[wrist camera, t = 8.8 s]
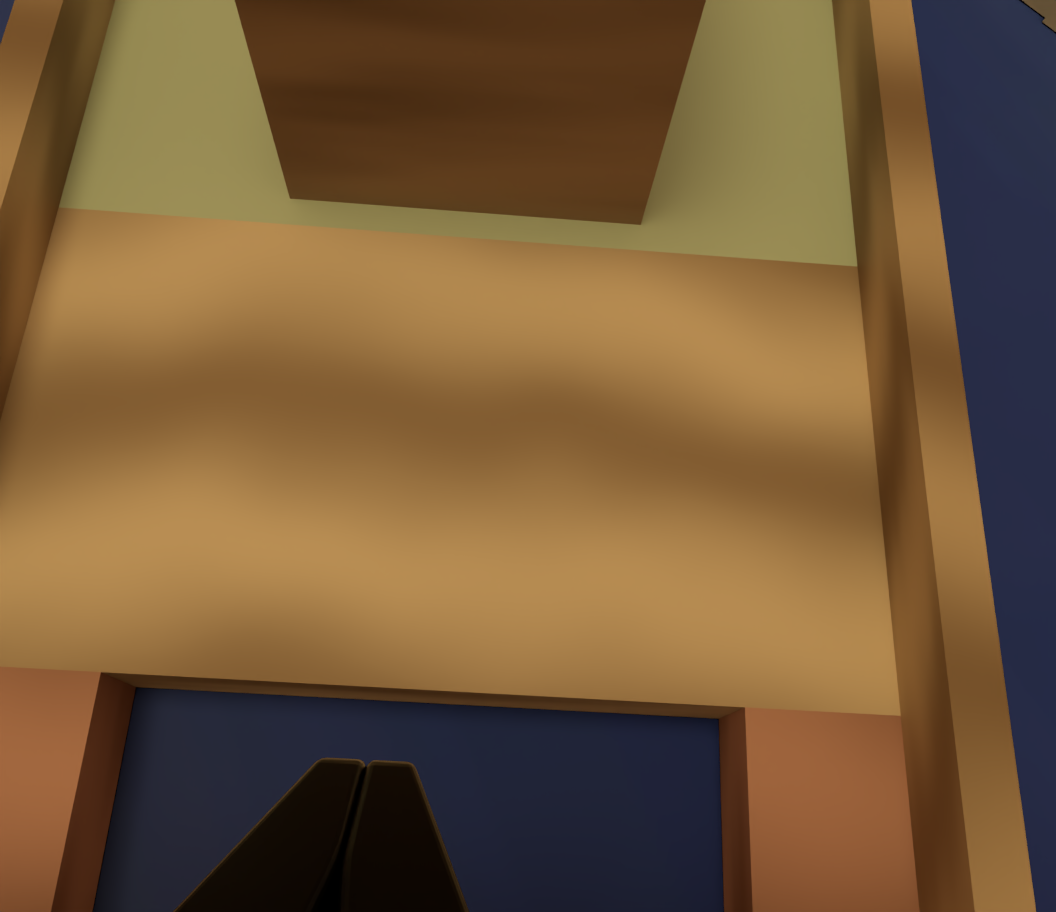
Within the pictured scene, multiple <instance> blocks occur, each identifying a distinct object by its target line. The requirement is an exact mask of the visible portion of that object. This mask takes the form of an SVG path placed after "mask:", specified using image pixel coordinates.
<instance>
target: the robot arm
mask: <svg viewBox="0 0 1056 912" xmlns="http://www.w3.org/2000/svg"><path fill="white" fill-rule="evenodd" d="M173 912H469V910H468V907H467V904H466V901H465V899H464V896H463V893H462V891H461V888H460V885H459V883H458V880H457V877H456V875H455V872H454V869H453V867H452V864H451V861H450V858H449V856H448V853H447V850H446V848H445V845H444V842H443V840H442V837H441V834H440V832H439V829H438V826H437V823H436V821H435V818H434V815H433V813H432V810H431V807H430V805H429V802H428V799H427V797H426V794H425V791H424V789H423V786H422V783H421V780H420V778H419V775H418V772H417V770H416V768H415V767H414V765H413V764H411V763H410V762H399V761H380V760H375V761H372V762H370V763H369V764H368V765H367V767H366V766H365V764H364V762H363V761H361V760H358V759H340V758H322V759H320V760H318V761H316V762H315V763H314V764H313V765H312V766H311V767H310V768H309V769H308V771H307V772H306V773H305V774H304V775H303V776H302V777H301V778H300V779H299V780H298V781H297V782H296V783H295V784H294V785H293V786H292V787H291V788H290V789H289V790H288V792H287V793H286V794H285V795H284V796H283V797H282V798H281V799H280V800H279V801H278V802H277V803H276V804H275V805H274V806H273V807H272V808H271V809H270V810H269V811H268V813H267V814H266V815H265V816H264V817H263V818H262V819H261V820H260V821H259V822H258V823H257V824H256V825H255V826H254V827H253V828H252V829H251V830H250V831H249V832H248V833H247V835H246V836H245V837H244V838H243V839H242V840H241V841H240V842H239V843H238V844H237V845H236V846H235V847H234V848H233V849H232V850H231V851H230V852H229V853H228V854H227V856H226V857H225V858H224V859H223V860H222V861H221V862H220V863H219V864H218V865H217V866H216V867H215V868H214V869H213V870H212V871H211V872H210V873H209V874H208V875H207V877H206V878H205V879H204V880H203V881H202V882H201V883H200V884H199V885H198V886H197V887H196V888H195V889H194V890H193V891H192V892H191V893H190V894H189V895H188V896H187V898H186V899H185V900H184V901H183V902H182V903H181V904H180V905H179V906H178V907H177V908H176V909H175V910H174V911H173Z"/></svg>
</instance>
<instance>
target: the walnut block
mask: <svg viewBox="0 0 1056 912" xmlns="http://www.w3.org/2000/svg"><path fill="white" fill-rule="evenodd" d="M705 2H706V0H235V3H236V7H237V11H238V14H239V18H240V21H241V25H242V29H243V32H244V36H245V39H246V43H247V46H248V50H249V54H250V57H251V61H252V64H253V68H254V72H255V75H256V79H257V82H258V86H259V90H260V93H261V97H262V100H263V104H264V107H265V111H266V115H267V118H268V122H269V125H270V129H271V133H272V136H273V140H274V143H275V147H276V150H277V154H278V158H279V161H280V165H281V168H282V172H283V176H284V179H285V183H286V186H287V190H288V194H289V197H290V199H302V200H315V201H329V202H342V203H355V204H368V205H382V206H395V207H408V208H422V209H435V210H448V211H462V212H475V213H488V214H501V215H515V216H528V217H541V218H555V219H568V220H581V221H595V222H608V223H621V224H634V225H641V222H642V219H643V215H644V212H645V208H646V205H647V201H648V198H649V195H650V191H651V188H652V184H653V181H654V177H655V174H656V171H657V167H658V164H659V160H660V157H661V153H662V150H663V146H664V143H665V140H666V136H667V133H668V129H669V126H670V122H671V119H672V115H673V112H674V109H675V105H676V102H677V98H678V95H679V91H680V88H681V85H682V81H683V78H684V74H685V71H686V67H687V64H688V60H689V57H690V54H691V50H692V47H693V43H694V40H695V36H696V33H697V29H698V26H699V23H700V19H701V16H702V12H703V9H704V5H705Z"/></svg>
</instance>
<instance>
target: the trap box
mask: <svg viewBox="0 0 1056 912" xmlns="http://www.w3.org/2000/svg"><path fill="white" fill-rule="evenodd" d="M136 687H144V688H162V689H180V690H199V691H217V692H236V693H254V694H273V695H291V696H310V697H328V698H347V699H365V700H384V701H402V702H421V703H439V704H457V705H476V706H494V707H513V708H531V709H550V710H568V711H587V712H605V713H624V714H642V715H661V716H679V717H698V718H716V719H719V744H720V780H721V816H722V852H723V888H724V912H1036V907H1035V900H1034V893H1033V885H1032V878H1031V871H1030V864H1029V856H1028V849H1027V842H1026V834H1025V827H1024V820H1023V813H1022V805H1021V798H1020V791H1019V783H1018V776H1017V769H1016V762H1015V754H1014V747H1013V740H1012V732H1011V725H1010V718H1009V711H1008V703H1007V696H1006V689H1005V681H1004V674H1003V667H1002V660H1001V652H1000V645H999V638H998V630H997V623H996V616H995V609H994V601H993V594H992V587H991V579H990V572H989V565H988V557H987V550H986V543H985V536H984V528H983V521H982V514H981V506H980V499H979V492H978V485H977V477H976V470H975V463H974V455H973V448H972V441H971V434H970V426H969V419H968V412H967V404H966V397H965V390H964V383H963V375H962V368H961V361H960V353H959V346H958V339H957V332H956V324H955V317H954V310H953V302H952V295H951V288H950V281H949V273H948V266H947V259H946V251H945V244H944V237H943V230H942V222H941V215H940V208H939V200H938V193H937V186H936V179H935V171H934V164H933V157H932V149H931V142H930V135H929V128H928V120H927V113H926V106H925V98H924V91H923V84H922V76H921V69H920V62H919V55H918V47H917V40H916V33H915V25H914V18H913V11H912V4H911V0H706V2H705V5H704V9H703V12H702V16H701V19H700V23H699V26H698V29H697V33H696V36H695V40H694V43H693V47H692V50H691V54H690V57H689V60H688V64H687V67H686V71H685V74H684V78H683V81H682V85H681V88H680V91H679V95H678V98H677V102H676V105H675V109H674V112H673V115H672V119H671V122H670V126H669V129H668V133H667V136H666V140H665V143H664V146H663V150H662V153H661V157H660V160H659V164H658V167H657V171H656V174H655V177H654V181H653V184H652V188H651V191H650V195H649V198H648V201H647V205H646V208H645V212H644V215H643V219H642V222H641V225H634V224H621V223H608V222H595V221H581V220H568V219H555V218H541V217H528V216H515V215H501V214H488V213H475V212H462V211H448V210H435V209H422V208H408V207H395V206H382V205H368V204H355V203H342V202H329V201H315V200H302V199H290V197H289V194H288V190H287V186H286V183H285V179H284V176H283V172H282V168H281V165H280V161H279V158H278V154H277V150H276V147H275V143H274V140H273V136H272V133H271V129H270V125H269V122H268V118H267V115H266V111H265V107H264V104H263V100H262V97H261V93H260V90H259V86H258V82H257V79H256V75H255V72H254V68H253V64H252V61H251V57H250V54H249V50H248V46H247V43H246V39H245V36H244V32H243V29H242V25H241V21H240V18H239V14H238V11H237V7H236V3H235V0H15V2H14V5H13V8H12V11H11V14H10V17H9V20H8V23H7V26H6V29H5V33H4V36H3V39H2V42H1V45H0V912H92V911H93V906H94V901H95V896H96V890H97V885H98V880H99V875H100V870H101V865H102V859H103V854H104V849H105V844H106V839H107V834H108V828H109V823H110V818H111V813H112V808H113V803H114V798H115V792H116V787H117V782H118V777H119V772H120V767H121V761H122V756H123V751H124V746H125V741H126V736H127V731H128V725H129V720H130V715H131V710H132V705H133V700H134V694H135V689H136Z"/></svg>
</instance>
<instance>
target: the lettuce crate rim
mask: <svg viewBox="0 0 1056 912" xmlns="http://www.w3.org/2000/svg"><path fill="white" fill-rule="evenodd" d="M1022 1H1023V2H1025V3H1026V4H1027V5H1029V6H1030V7H1031V8H1033V9H1034V10H1035V11H1037V12H1038V13H1039V14H1041V15H1042V16H1043V17H1045V19H1044V20H1043V23H1044V24H1046V25H1047V26H1048V27H1050V28H1051V29H1052V30H1054V31H1055V32H1056V0H1022Z"/></svg>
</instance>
